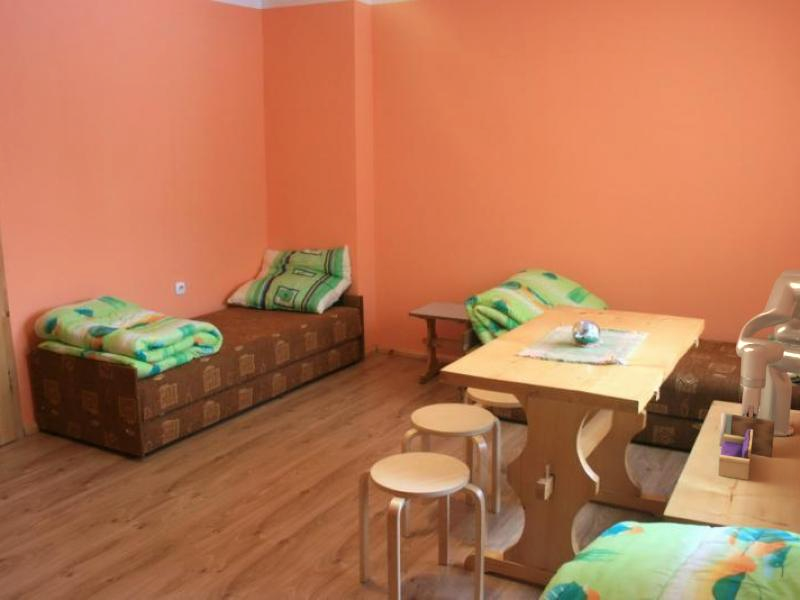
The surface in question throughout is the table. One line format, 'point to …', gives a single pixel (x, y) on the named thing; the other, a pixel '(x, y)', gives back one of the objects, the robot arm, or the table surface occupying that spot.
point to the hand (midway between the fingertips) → (750, 433)
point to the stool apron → (755, 433)
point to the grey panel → (725, 426)
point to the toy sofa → (736, 456)
